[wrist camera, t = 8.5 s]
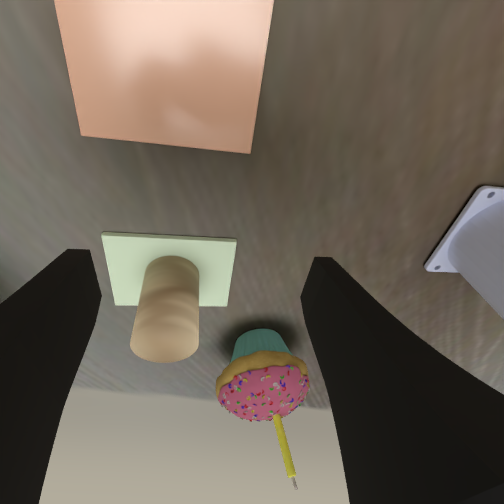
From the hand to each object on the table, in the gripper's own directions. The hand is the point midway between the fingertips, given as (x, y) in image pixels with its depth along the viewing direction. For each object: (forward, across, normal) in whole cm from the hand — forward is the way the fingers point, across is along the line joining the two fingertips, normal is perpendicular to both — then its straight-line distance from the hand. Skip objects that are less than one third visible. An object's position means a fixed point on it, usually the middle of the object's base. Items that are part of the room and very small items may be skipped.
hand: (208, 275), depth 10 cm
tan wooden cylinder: (+10, +2, +9) cm, 13 cm away
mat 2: (+10, +2, +9) cm, 14 cm away
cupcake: (+10, -6, +19) cm, 22 cm away
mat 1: (+10, +2, -4) cm, 11 cm away
